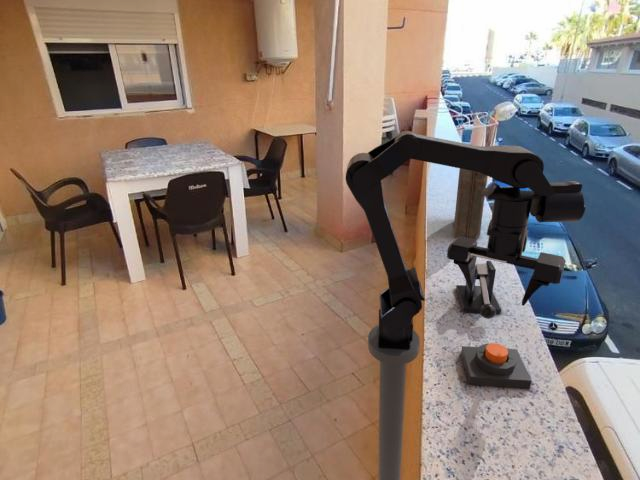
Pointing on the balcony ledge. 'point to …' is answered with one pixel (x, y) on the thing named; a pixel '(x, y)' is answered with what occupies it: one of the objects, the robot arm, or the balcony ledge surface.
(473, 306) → the switch mount
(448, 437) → the balcony ledge surface
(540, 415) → the balcony ledge surface
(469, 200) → the brown upright rectangular block
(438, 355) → the balcony ledge surface
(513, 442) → the balcony ledge surface
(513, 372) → the control block
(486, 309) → the lever
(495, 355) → the button
